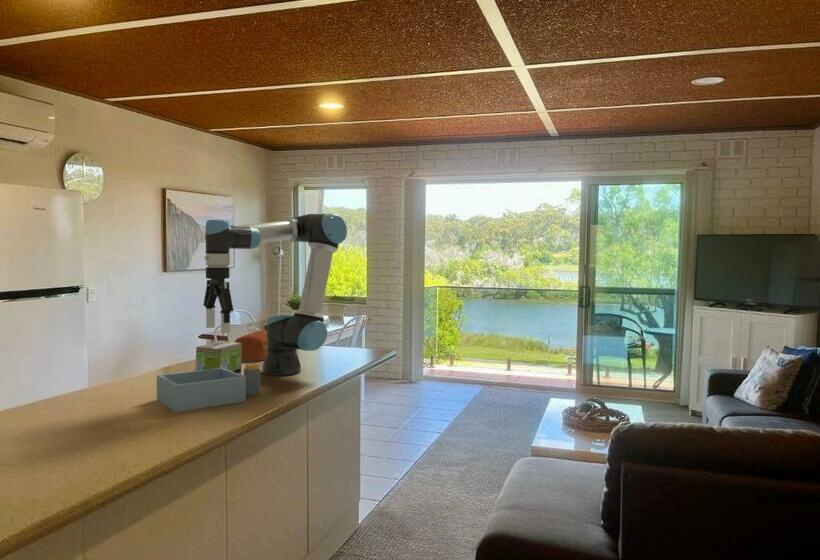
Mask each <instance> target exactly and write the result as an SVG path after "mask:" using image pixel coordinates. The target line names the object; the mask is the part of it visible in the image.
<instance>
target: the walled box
mask: <svg viewBox="0 0 820 560" xmlns="http://www.w3.org/2000/svg"><path fill="white" fill-rule="evenodd" d="M246 396H247V395H246V377H245V376H244V374H243V375H242V374H241V375H240V374H238V373H235V372H233V371H231V370H228V369H226V368H223V367H222V368H214V369H205V370H196V369H195V370H191V371H190V370H188V371H181V372H179V371H178V372H173V373H165V374H164V373H163V374H157V375H156V400H157V401H158V402H159V401H160V403H161V404H163V405H164V406H166V407H167V408H169V409H170V410H171V411H174V412H175V413H180V412H187V411H193V410H199V409H205V408H212V407H218V406H222V405H223V406H224V405H230V404H237V403H243V402H246V400H247V399H246Z"/></svg>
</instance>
